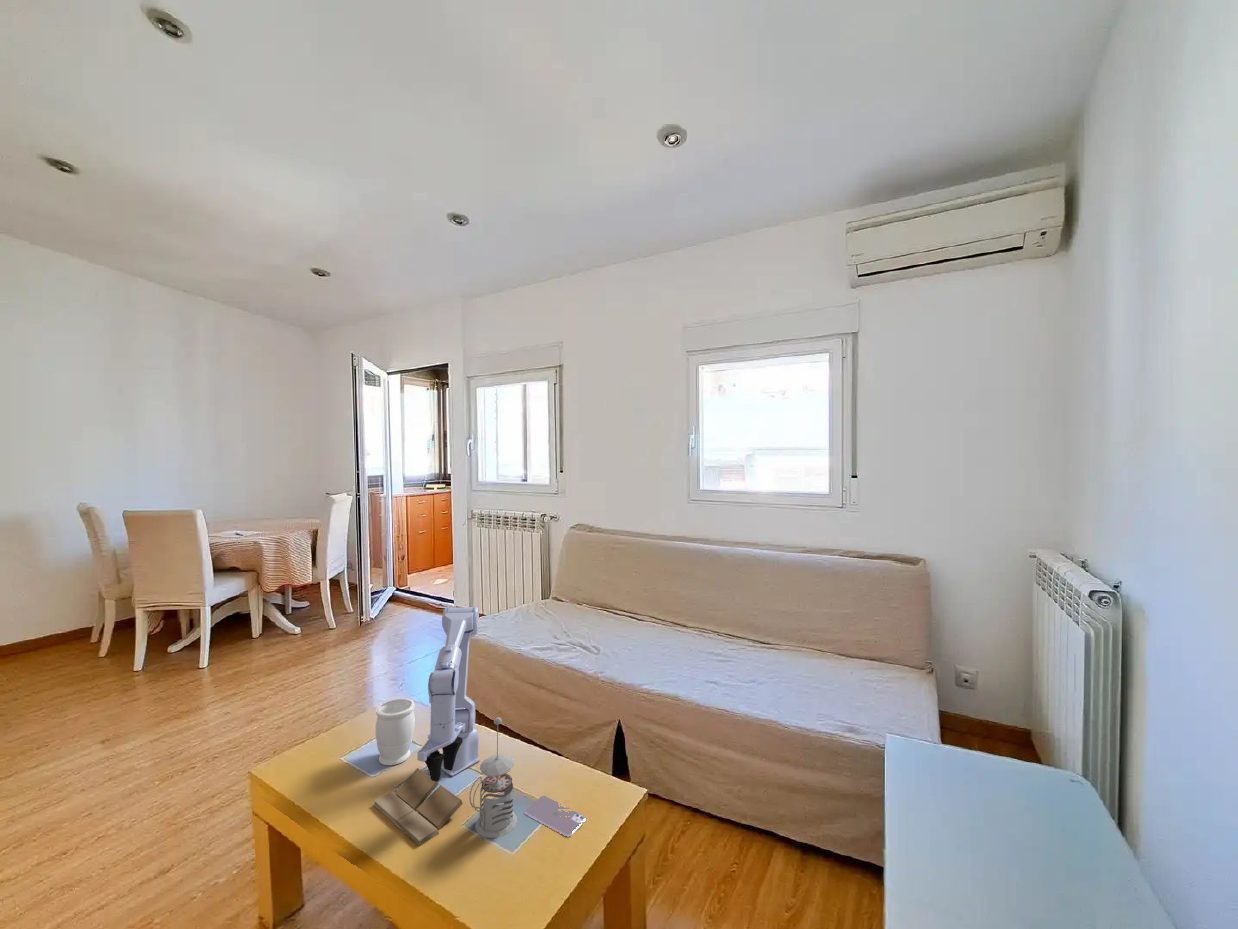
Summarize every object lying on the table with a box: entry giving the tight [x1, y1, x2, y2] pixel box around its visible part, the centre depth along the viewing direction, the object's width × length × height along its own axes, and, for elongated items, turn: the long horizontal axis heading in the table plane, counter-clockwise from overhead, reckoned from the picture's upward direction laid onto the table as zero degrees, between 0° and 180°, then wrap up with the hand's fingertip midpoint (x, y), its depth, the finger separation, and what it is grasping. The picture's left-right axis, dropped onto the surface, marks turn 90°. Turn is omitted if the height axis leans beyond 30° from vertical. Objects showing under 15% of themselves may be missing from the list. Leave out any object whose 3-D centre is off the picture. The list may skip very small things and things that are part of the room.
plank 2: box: [416, 784, 464, 831], centre depth 118 cm, size 7×9×1 cm
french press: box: [468, 716, 518, 839], centre depth 115 cm, size 10×12×25 cm
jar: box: [375, 697, 416, 766], centre depth 140 cm, size 11×10×15 cm
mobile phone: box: [523, 795, 587, 836], centre depth 117 cm, size 8×1×15 cm
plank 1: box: [394, 767, 439, 812], centre depth 123 cm, size 7×9×1 cm
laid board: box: [373, 791, 440, 847], centre depth 116 cm, size 5×21×1 cm, turn 53°
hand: (441, 774), depth 118 cm, fingers open, 4 cm apart
